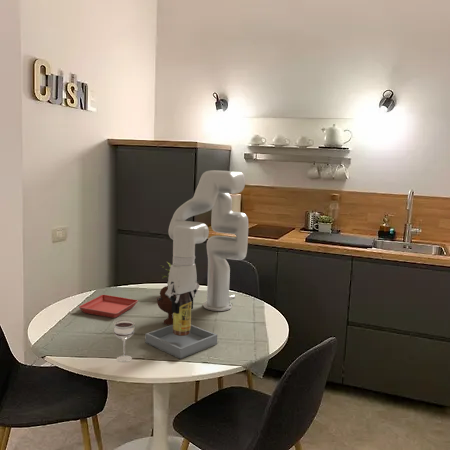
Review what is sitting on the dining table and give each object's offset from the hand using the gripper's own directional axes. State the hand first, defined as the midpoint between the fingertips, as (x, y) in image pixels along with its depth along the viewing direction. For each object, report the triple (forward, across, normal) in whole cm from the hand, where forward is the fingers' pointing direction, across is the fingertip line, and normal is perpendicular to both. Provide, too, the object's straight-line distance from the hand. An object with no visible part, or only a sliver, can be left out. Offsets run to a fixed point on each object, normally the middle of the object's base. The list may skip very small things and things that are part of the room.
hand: (182, 310), depth 171 cm
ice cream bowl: (+13, -11, -18) cm, 25 cm away
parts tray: (+12, 0, 0) cm, 12 cm away
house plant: (+13, -35, -43) cm, 57 cm away
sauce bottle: (+9, 0, 0) cm, 9 cm away
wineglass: (+13, +22, -4) cm, 26 cm away
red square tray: (+13, -2, -46) cm, 48 cm away
